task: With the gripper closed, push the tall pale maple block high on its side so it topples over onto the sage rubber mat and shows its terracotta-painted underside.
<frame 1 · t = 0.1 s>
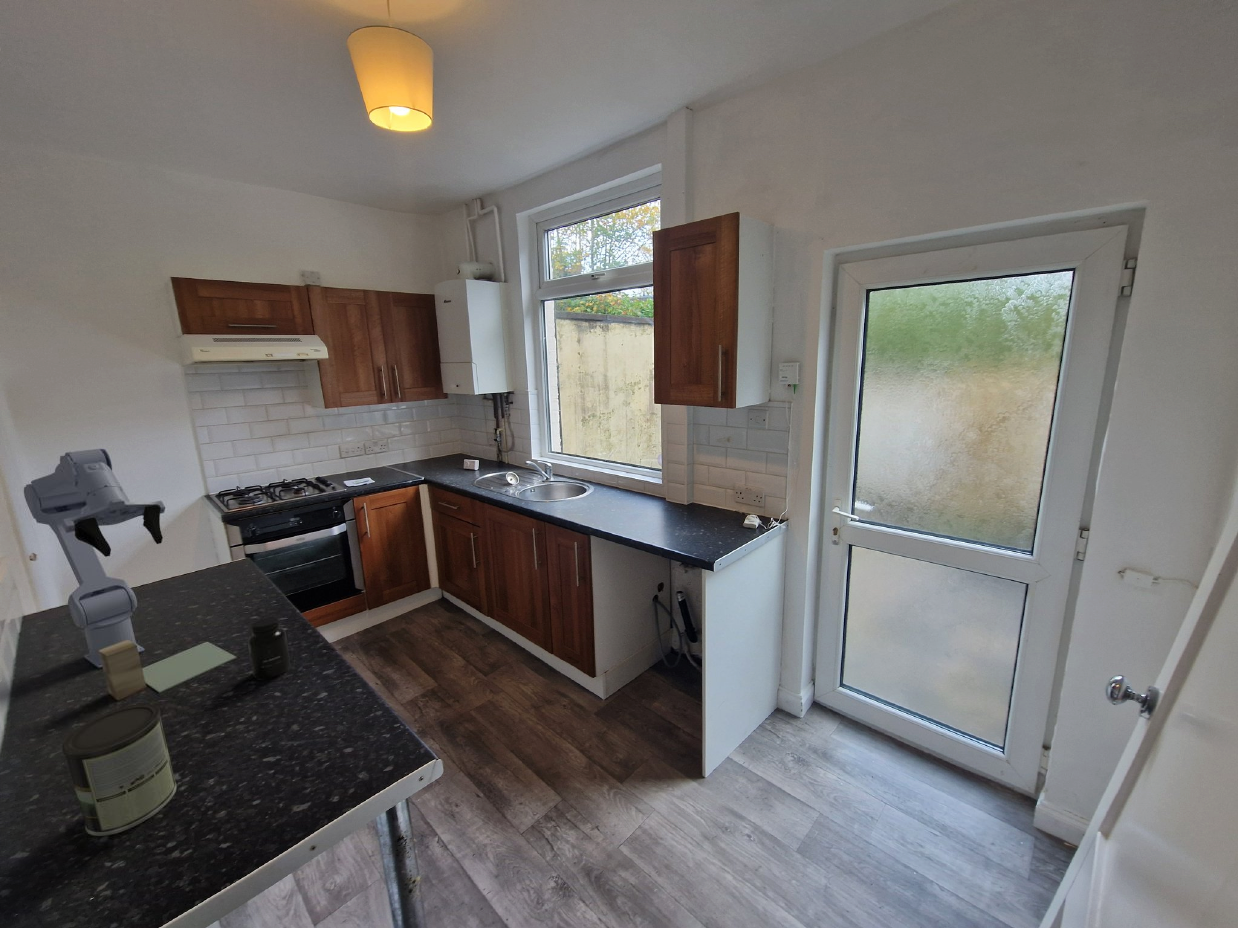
hand: (134, 546, 97), 32 cm above the counter, tool tilted 50°, fingers open, 7 cm apart
maple block: (128, 690, 104), on the counter
coffee can: (133, 806, 77), on the counter
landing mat: (185, 665, 112), on the counter
supplement bottle: (272, 671, 110), on the counter
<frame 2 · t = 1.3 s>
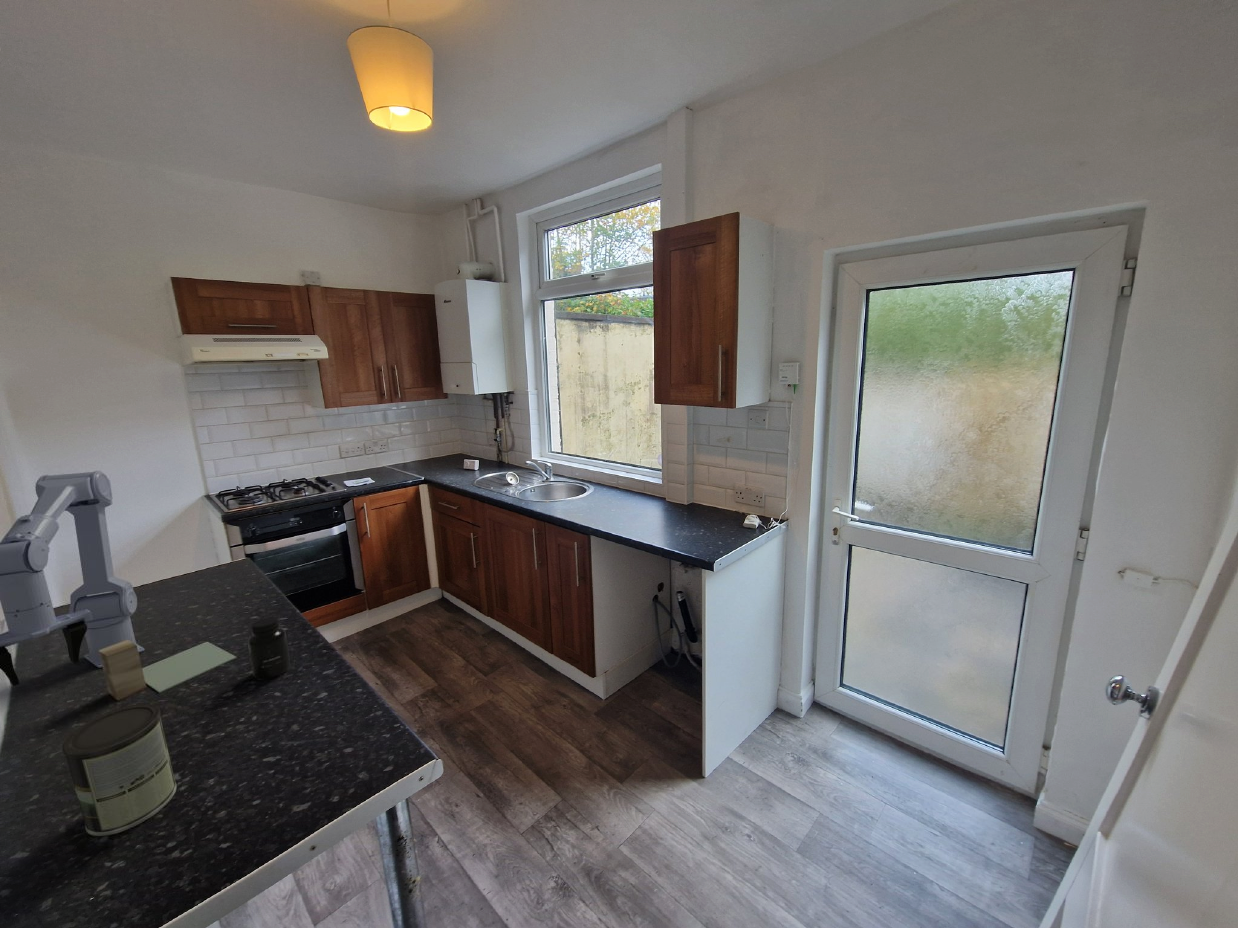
hand: (46, 671, 93), 10 cm above the counter, tool pointing down, fingers open, 7 cm apart
nothing on the counter moved.
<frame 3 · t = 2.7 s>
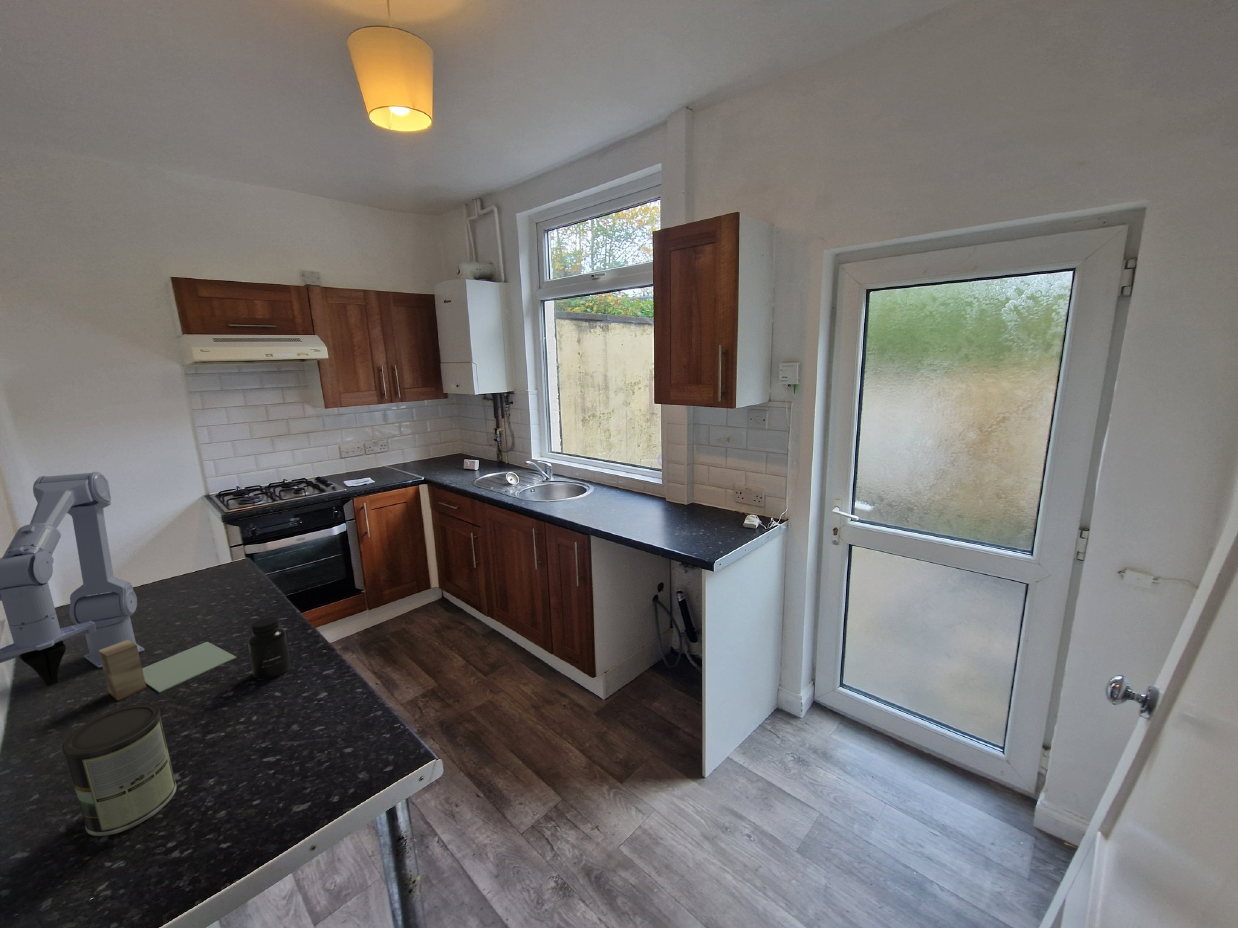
hand: (50, 683, 94), 8 cm above the counter, tool pointing down, fingers closed
nothing on the counter moved.
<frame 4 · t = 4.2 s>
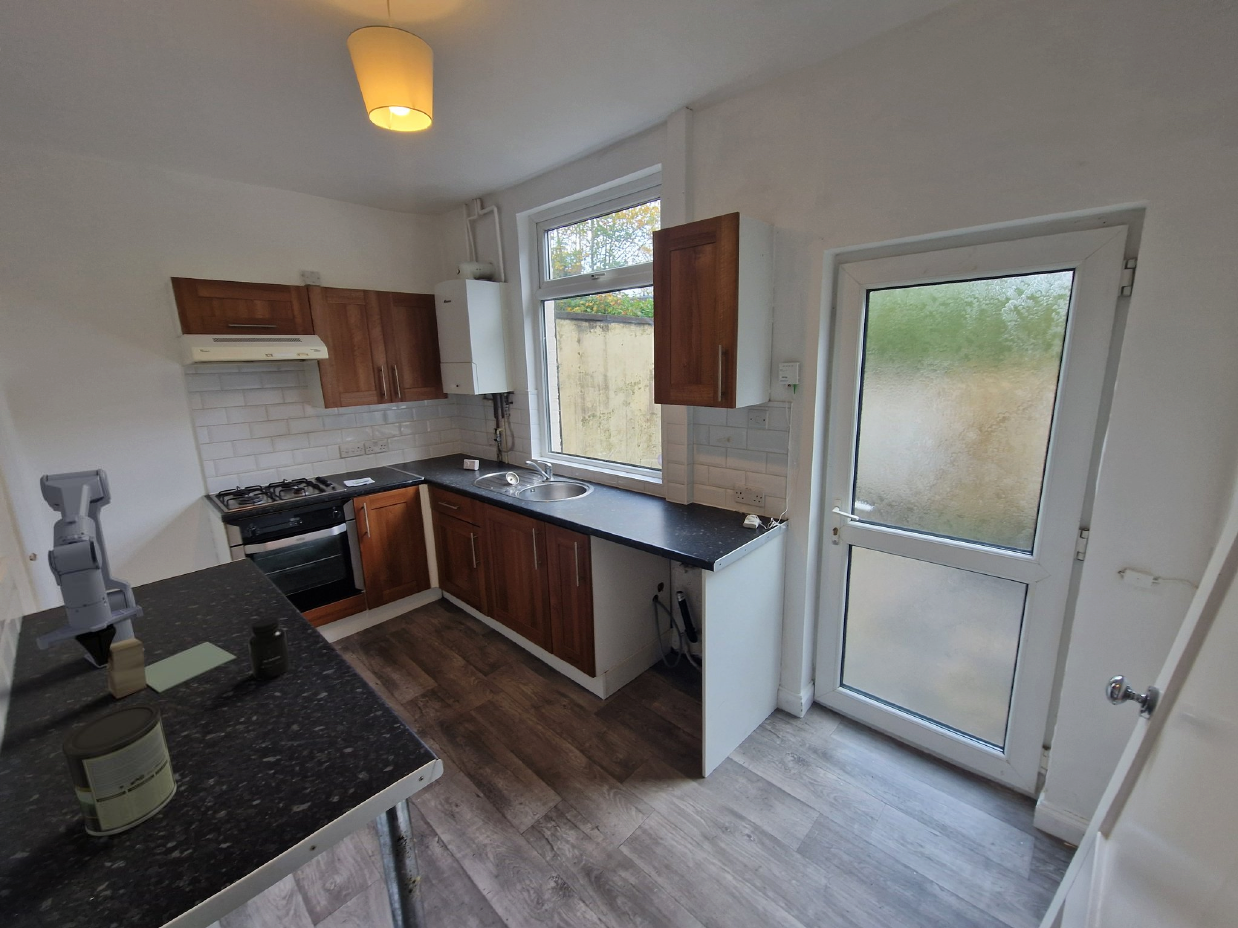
hand: (102, 663, 100), 8 cm above the counter, tool pointing down, fingers closed
maple block: (128, 689, 104), on the counter, tilted 6°
everything else where it was.
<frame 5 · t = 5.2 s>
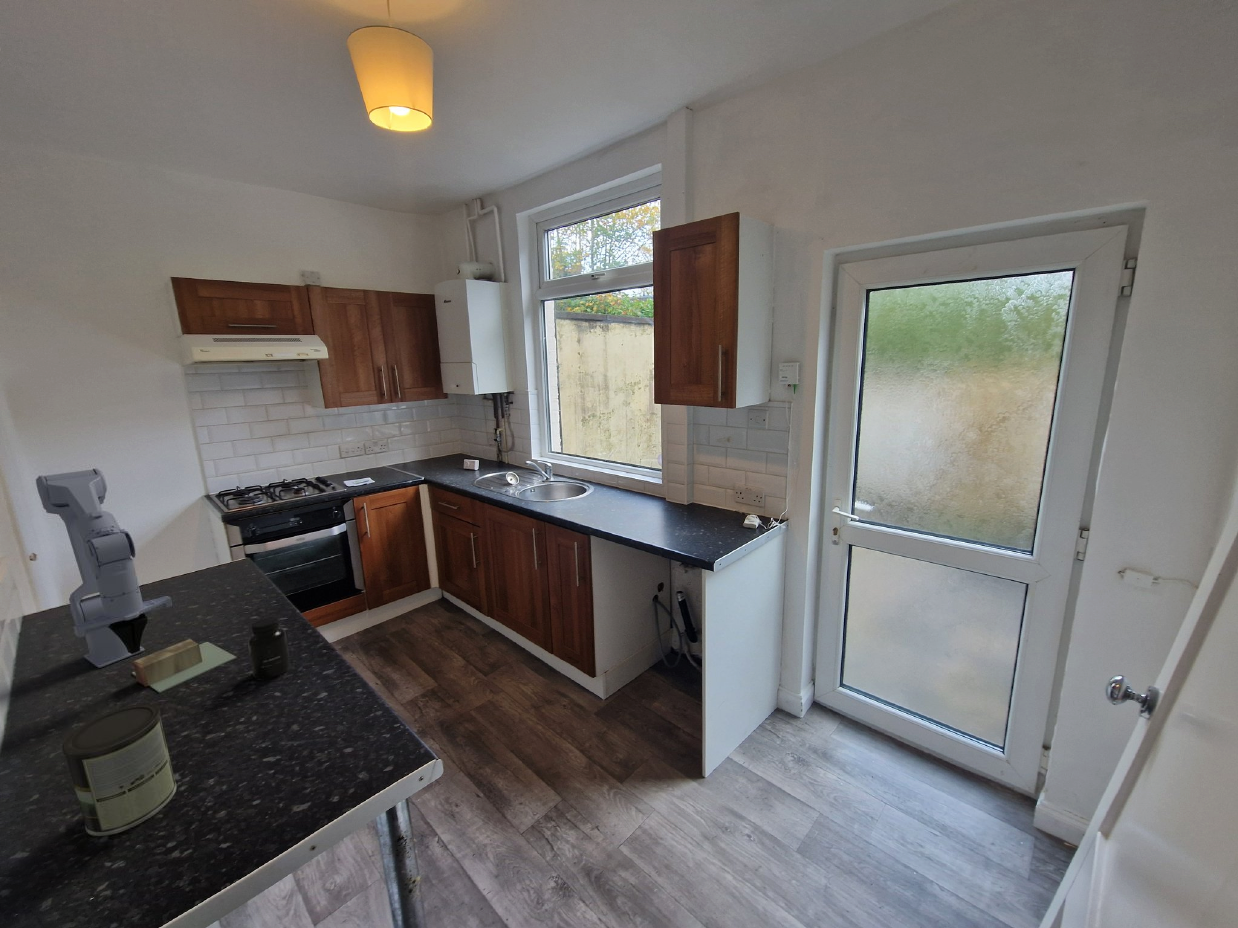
hand: (134, 651, 104), 8 cm above the counter, tool pointing down, fingers closed
maple block: (139, 674, 105), point 3 cm above the counter, tilted 90°, touching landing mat
everything else where it was.
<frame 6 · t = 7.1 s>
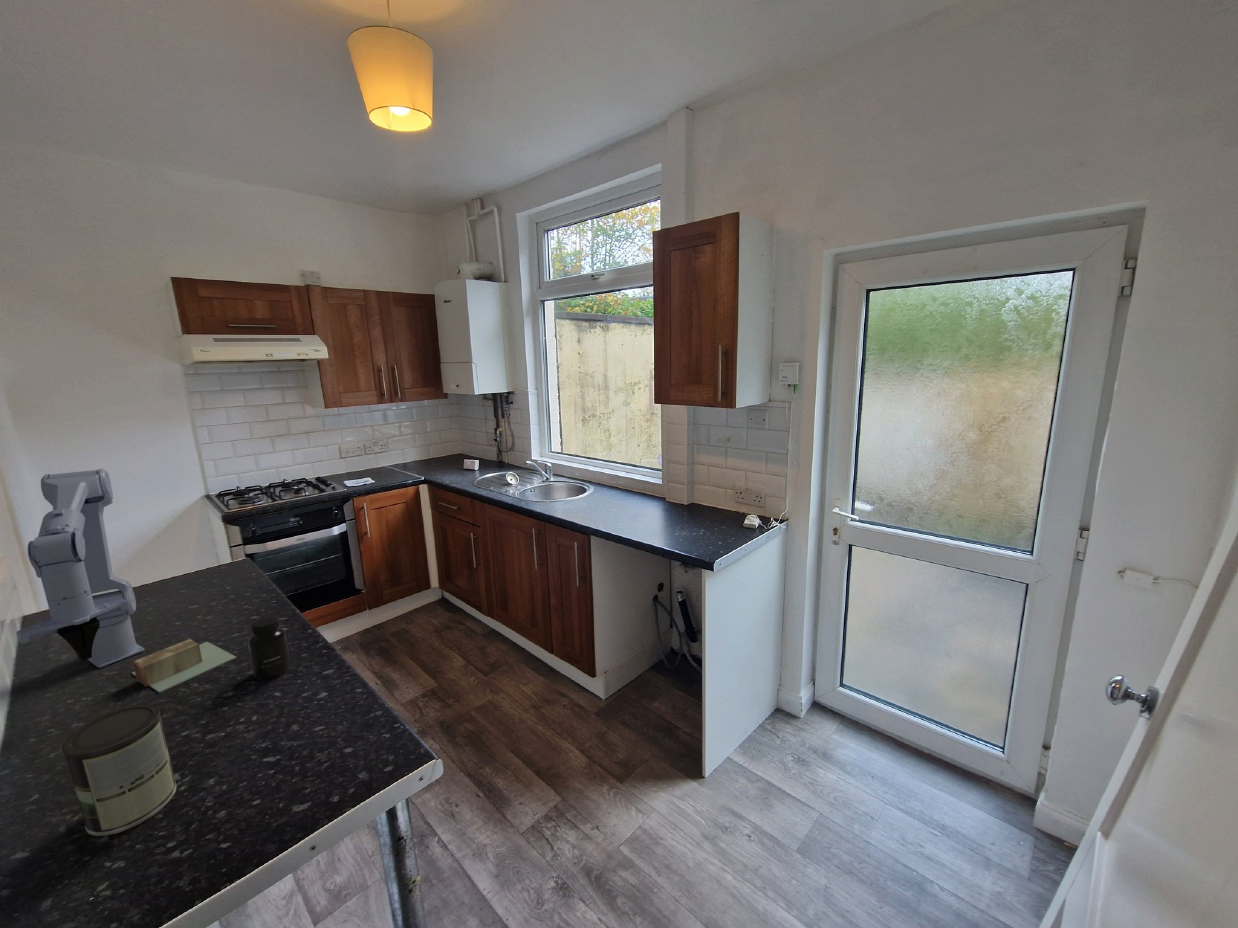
hand: (85, 657, 98), 10 cm above the counter, tool pointing down, fingers closed
nothing on the counter moved.
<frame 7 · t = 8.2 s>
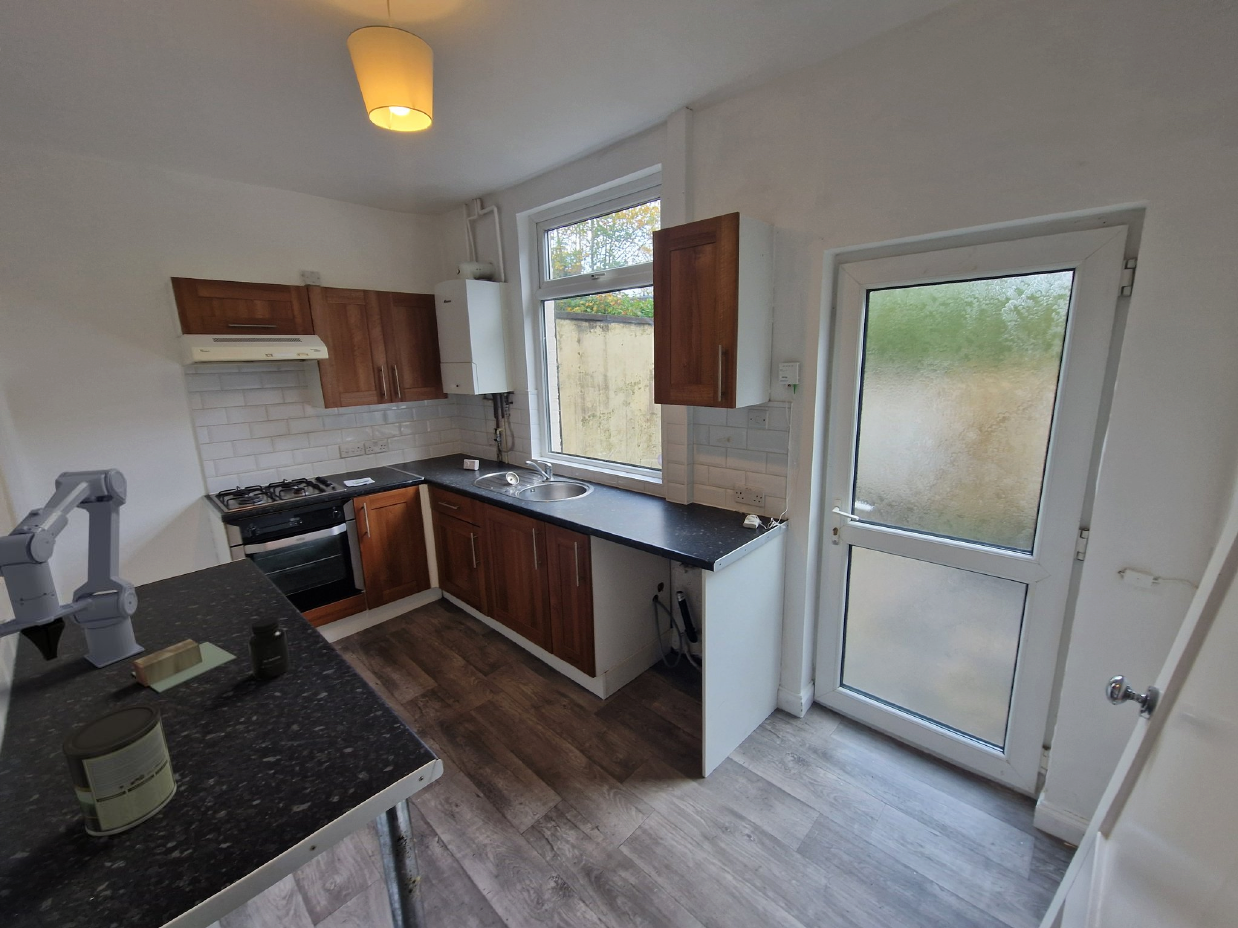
hand: (50, 657, 98), 10 cm above the counter, tool pointing down, fingers closed
nothing on the counter moved.
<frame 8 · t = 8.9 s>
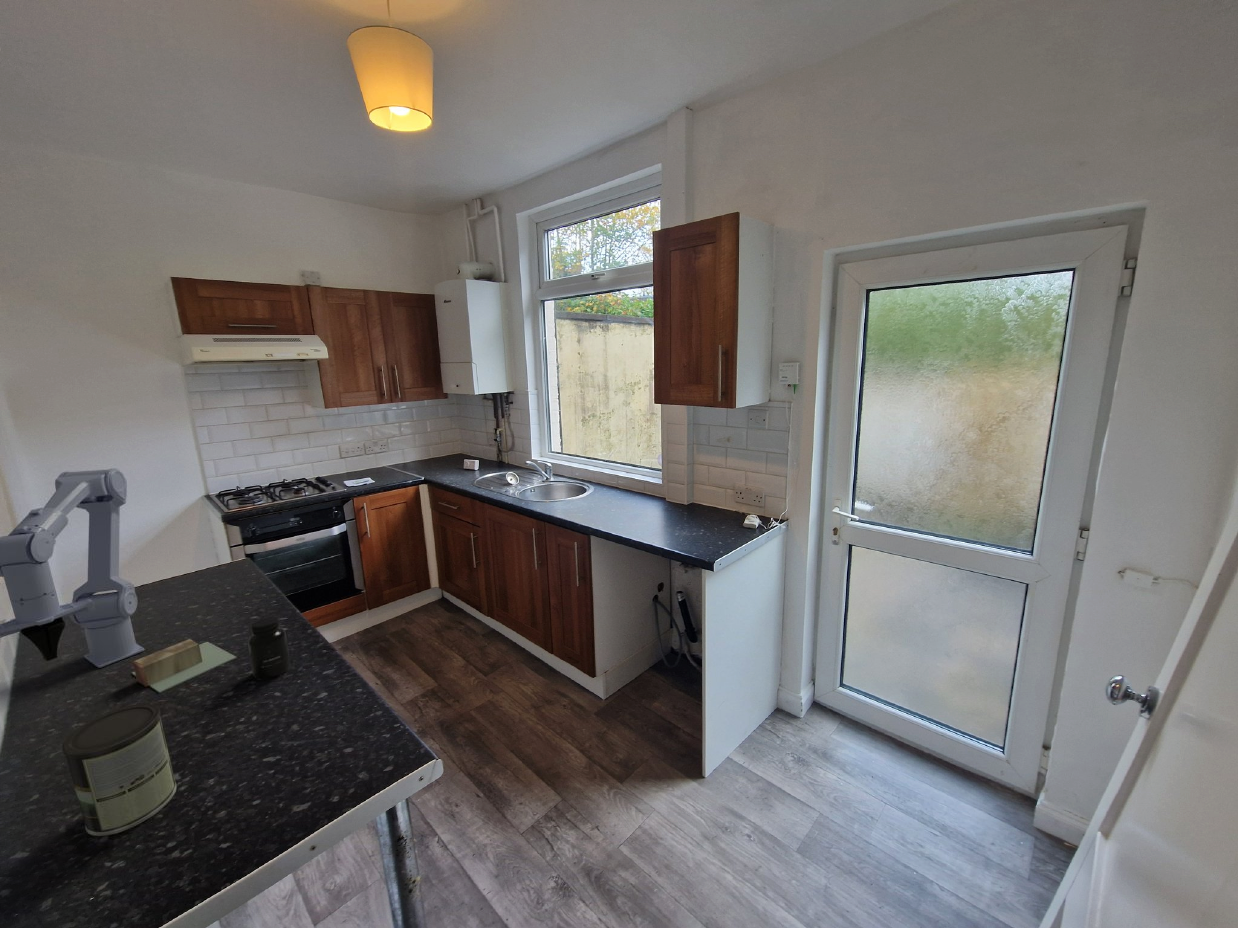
hand: (50, 657, 98), 10 cm above the counter, tool pointing down, fingers closed
nothing on the counter moved.
at the end: maple block tilted 90°; maple block touching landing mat; maple block inside the target area (0.2 cm from its centre), point 2.5 cm above the counter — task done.
